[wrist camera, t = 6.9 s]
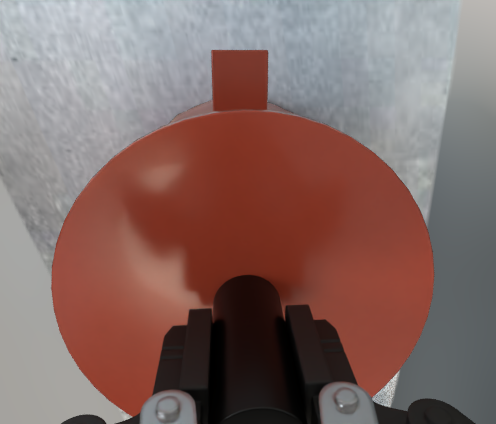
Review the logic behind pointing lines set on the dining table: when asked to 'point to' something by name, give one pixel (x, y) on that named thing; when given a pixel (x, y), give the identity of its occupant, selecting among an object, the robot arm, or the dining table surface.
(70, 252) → the lid
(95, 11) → the dining table surface
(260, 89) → the pan
